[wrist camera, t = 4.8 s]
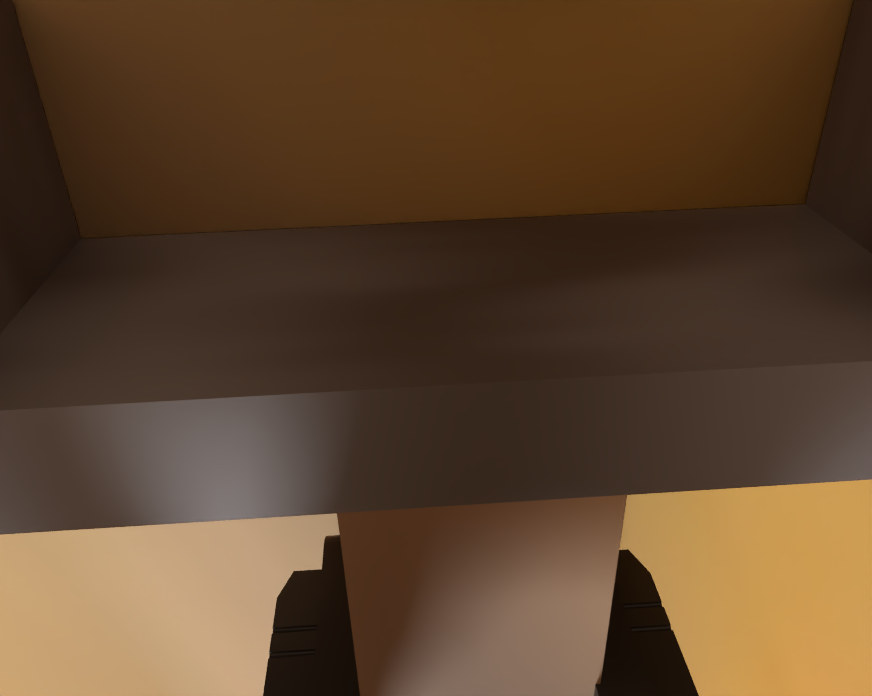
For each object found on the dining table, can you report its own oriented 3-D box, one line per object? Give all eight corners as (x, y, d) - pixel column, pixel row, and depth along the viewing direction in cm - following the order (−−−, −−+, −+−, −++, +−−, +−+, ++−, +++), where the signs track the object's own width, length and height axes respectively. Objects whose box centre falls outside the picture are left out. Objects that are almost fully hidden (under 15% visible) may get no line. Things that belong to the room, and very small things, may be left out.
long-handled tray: (943, -38, 9) (1279, 8, 6) (715, 752, 18) (795, 958, 14) (-79, -2, 9) (-380, 70, 5) (195, 792, 17) (150, 1016, 14)
